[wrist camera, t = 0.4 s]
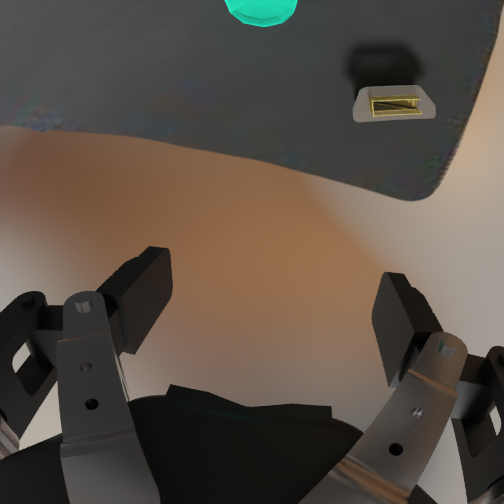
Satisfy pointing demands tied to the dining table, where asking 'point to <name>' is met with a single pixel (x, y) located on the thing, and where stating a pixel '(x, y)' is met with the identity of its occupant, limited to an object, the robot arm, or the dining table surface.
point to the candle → (262, 11)
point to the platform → (392, 103)
